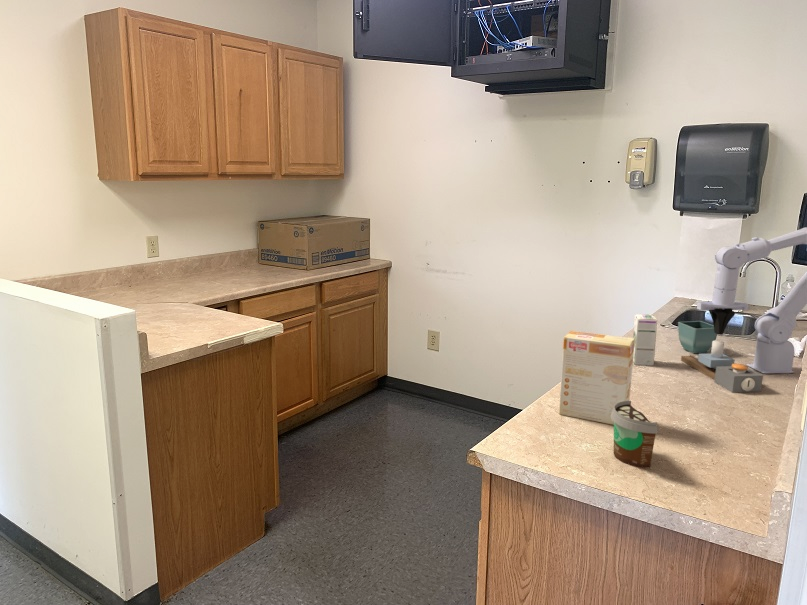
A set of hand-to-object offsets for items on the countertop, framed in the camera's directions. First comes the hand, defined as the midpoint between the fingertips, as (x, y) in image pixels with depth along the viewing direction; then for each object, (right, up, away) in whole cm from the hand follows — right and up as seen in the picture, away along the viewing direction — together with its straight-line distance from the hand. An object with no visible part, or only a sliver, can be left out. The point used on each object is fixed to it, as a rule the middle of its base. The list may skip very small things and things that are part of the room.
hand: (718, 333), depth 177 cm
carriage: (-3, -9, -4) cm, 10 cm away
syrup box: (-20, -9, +6) cm, 23 cm away
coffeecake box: (-47, -18, -33) cm, 61 cm away
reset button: (-2, -11, -14) cm, 18 cm away
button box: (-2, -14, -14) cm, 19 cm away
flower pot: (+2, -7, +18) cm, 19 cm away
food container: (-48, -23, -54) cm, 75 cm away
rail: (-3, -11, 0) cm, 11 cm away
